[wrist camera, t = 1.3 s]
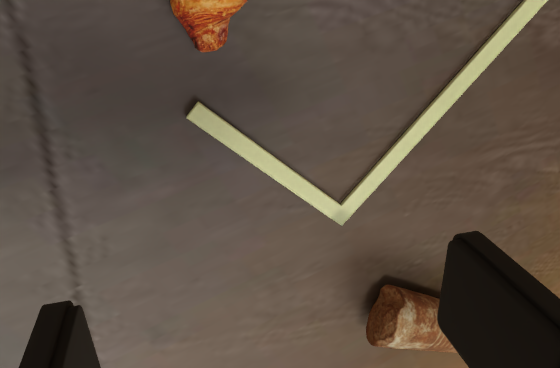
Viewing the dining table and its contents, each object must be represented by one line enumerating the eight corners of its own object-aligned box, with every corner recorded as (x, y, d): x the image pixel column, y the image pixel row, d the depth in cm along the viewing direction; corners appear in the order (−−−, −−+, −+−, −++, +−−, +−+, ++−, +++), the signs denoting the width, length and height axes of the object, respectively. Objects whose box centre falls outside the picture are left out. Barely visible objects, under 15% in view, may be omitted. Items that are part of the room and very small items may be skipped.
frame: (186, 116, 34) (186, 118, 33) (444, -224, 28) (448, -226, 28) (340, 224, 41) (341, 226, 40) (570, -29, 35) (574, -29, 35)
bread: (379, 270, 44) (405, 308, 39) (512, 307, 51) (549, 343, 46) (350, 319, 46) (371, 360, 41) (482, 348, 53) (514, 387, 48)
